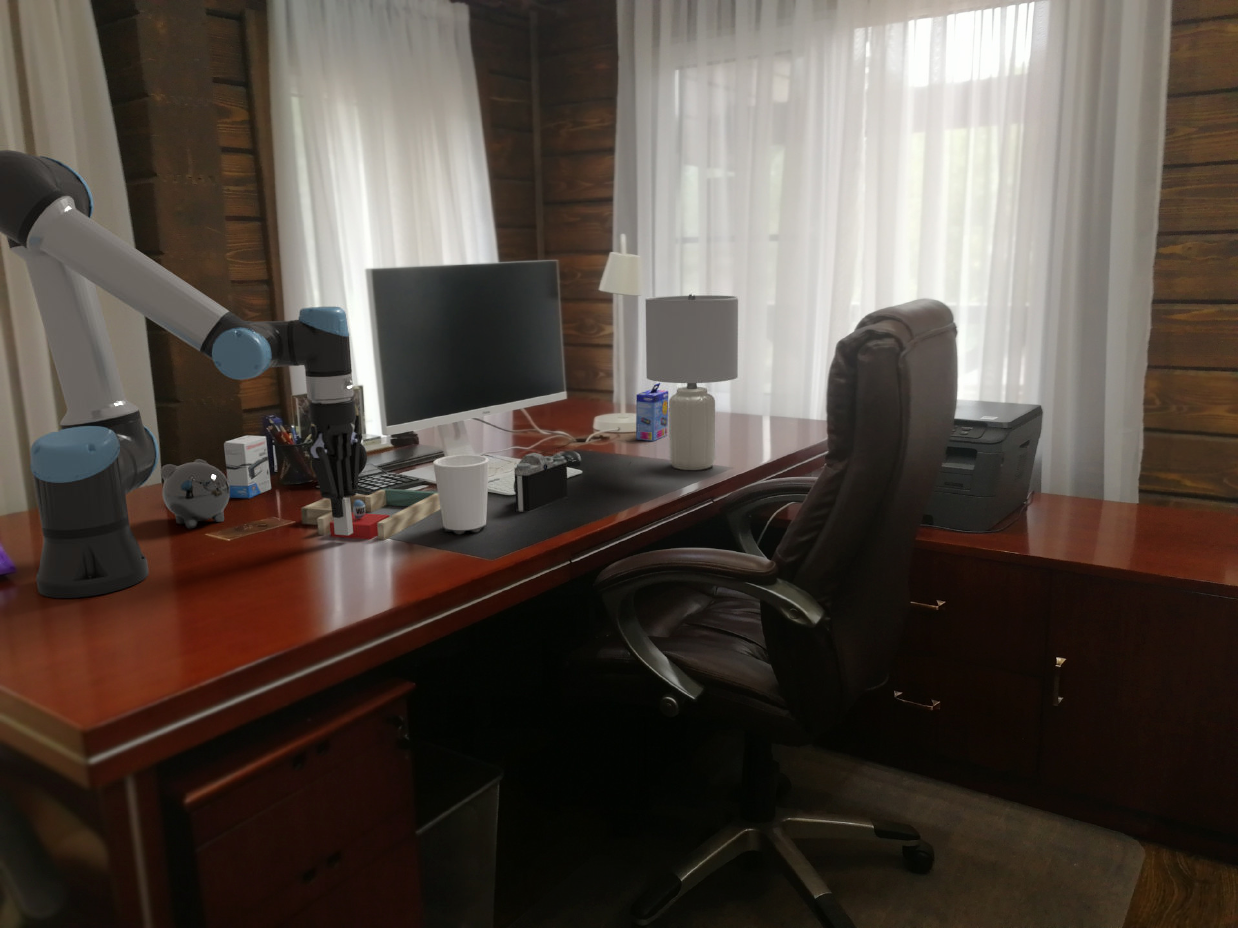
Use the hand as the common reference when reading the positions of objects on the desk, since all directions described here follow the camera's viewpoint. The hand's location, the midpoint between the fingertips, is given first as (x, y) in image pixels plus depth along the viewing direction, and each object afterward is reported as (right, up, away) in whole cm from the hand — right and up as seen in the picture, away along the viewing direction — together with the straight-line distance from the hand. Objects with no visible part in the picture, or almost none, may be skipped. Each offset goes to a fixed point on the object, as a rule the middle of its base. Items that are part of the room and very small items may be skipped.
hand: (344, 533), depth 165 cm
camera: (+31, +4, +24) cm, 40 cm away
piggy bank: (-31, +1, +14) cm, 35 cm away
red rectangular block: (+1, -1, +6) cm, 6 cm away
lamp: (+65, +11, +52) cm, 84 cm away
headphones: (-14, +8, +46) cm, 48 cm away
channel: (0, +2, +14) cm, 14 cm away
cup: (+20, 0, +6) cm, 21 cm away
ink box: (-30, +6, +35) cm, 47 cm away
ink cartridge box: (+57, +19, +86) cm, 105 cm away
